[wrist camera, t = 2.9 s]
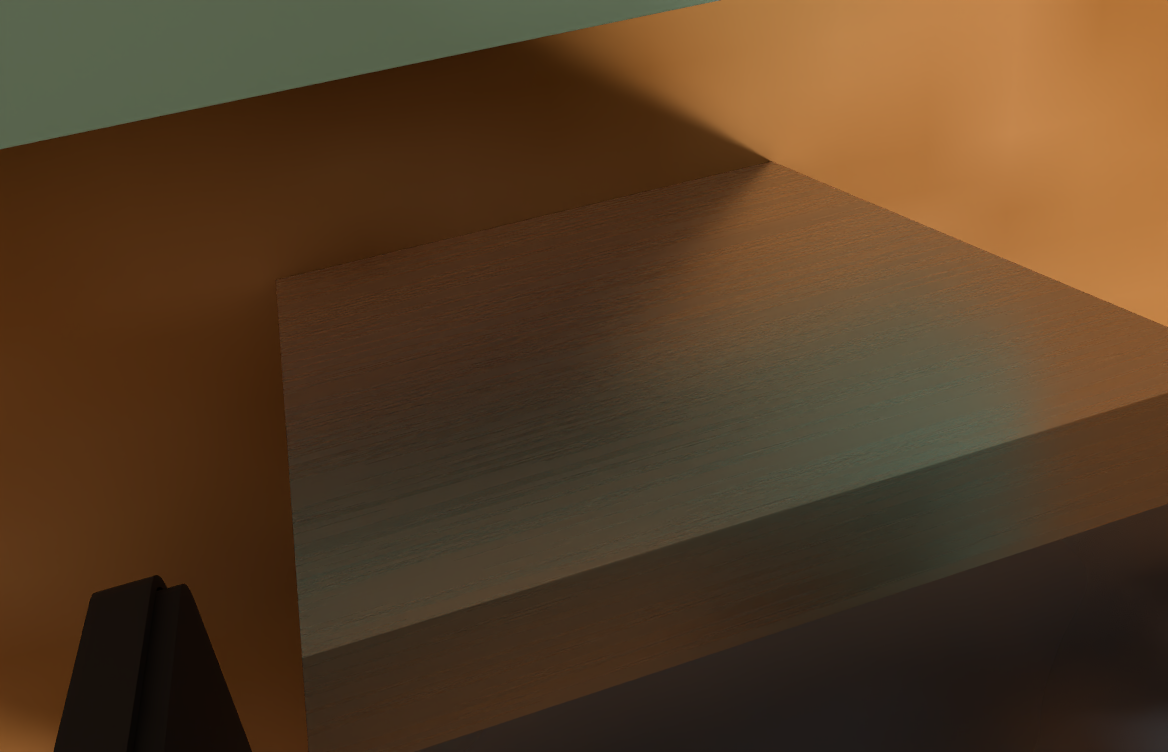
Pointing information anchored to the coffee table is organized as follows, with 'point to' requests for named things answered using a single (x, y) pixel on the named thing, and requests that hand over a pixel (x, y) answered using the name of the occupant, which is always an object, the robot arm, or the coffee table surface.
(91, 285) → the coffee table surface
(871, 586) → the chute block
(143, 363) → the coffee table surface
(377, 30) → the frame
